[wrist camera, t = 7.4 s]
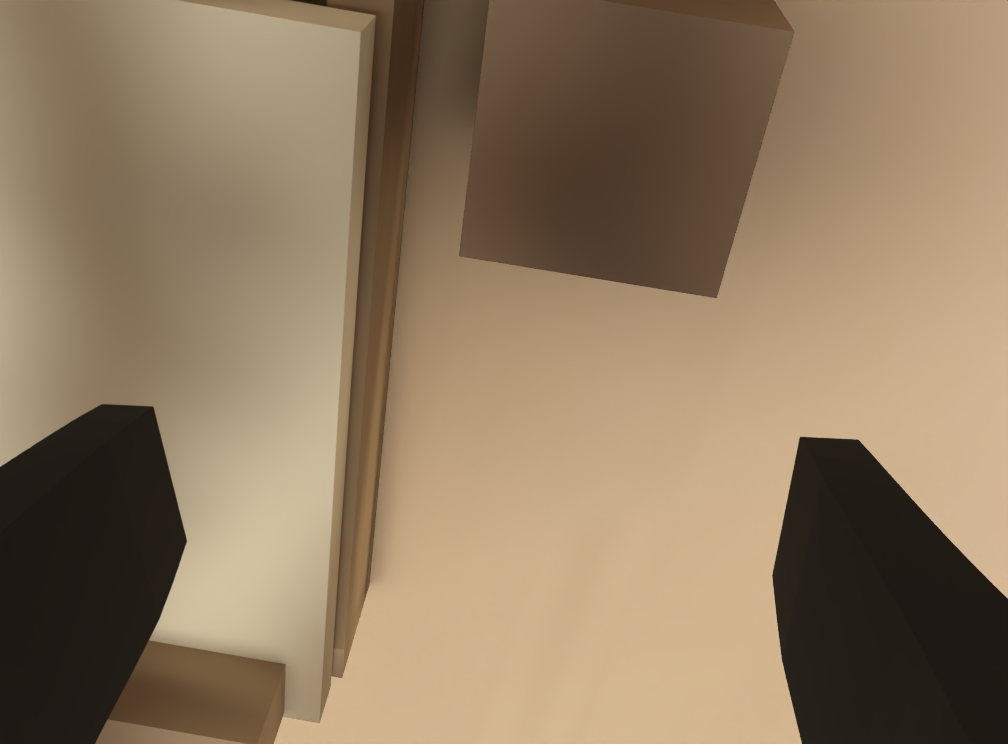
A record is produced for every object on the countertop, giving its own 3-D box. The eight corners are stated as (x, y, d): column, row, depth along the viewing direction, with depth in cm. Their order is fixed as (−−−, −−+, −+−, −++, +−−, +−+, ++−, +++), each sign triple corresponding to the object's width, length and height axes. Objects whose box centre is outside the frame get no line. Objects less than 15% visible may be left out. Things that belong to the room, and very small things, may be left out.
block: (489, 153, 18) (459, 255, 15) (519, -71, 16) (491, -18, 13) (695, 186, 18) (716, 298, 15) (752, -34, 16) (793, 31, 12)
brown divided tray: (-8, 519, 25) (-77, 604, 23) (-212, -486, 14) (-391, -537, 12) (369, 585, 25) (342, 677, 23) (458, -371, 14) (424, -397, 12)
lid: (-76, 615, 22) (-164, 725, 20) (-273, -98, 14) (-468, -65, 11) (330, 686, 22) (294, 805, 20) (376, 15, 14) (324, 73, 11)
